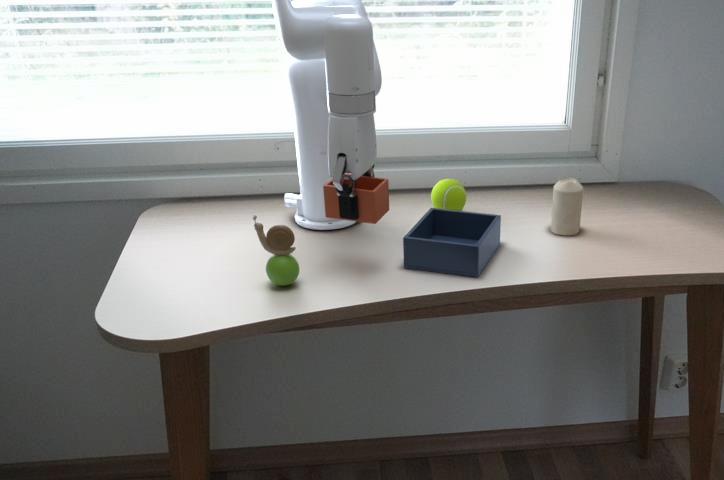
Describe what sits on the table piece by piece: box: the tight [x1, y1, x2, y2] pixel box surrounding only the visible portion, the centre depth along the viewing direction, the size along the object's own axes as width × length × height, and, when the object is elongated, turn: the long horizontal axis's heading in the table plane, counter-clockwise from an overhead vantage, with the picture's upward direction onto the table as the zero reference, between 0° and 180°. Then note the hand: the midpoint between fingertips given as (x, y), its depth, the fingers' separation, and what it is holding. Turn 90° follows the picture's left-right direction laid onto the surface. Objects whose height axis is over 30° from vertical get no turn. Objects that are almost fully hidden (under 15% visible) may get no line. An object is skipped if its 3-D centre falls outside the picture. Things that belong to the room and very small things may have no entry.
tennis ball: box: [430, 178, 467, 211], centre depth 165 cm, size 7×7×7 cm
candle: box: [550, 176, 584, 236], centre depth 157 cm, size 6×6×10 cm
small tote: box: [323, 173, 390, 225], centre depth 139 cm, size 9×6×6 cm
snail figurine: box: [252, 214, 300, 287], centre depth 136 cm, size 5×6×12 cm
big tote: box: [402, 207, 502, 278], centre depth 148 cm, size 13×15×6 cm
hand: (357, 209), depth 140 cm, fingers closed on small tote, 6 cm apart
